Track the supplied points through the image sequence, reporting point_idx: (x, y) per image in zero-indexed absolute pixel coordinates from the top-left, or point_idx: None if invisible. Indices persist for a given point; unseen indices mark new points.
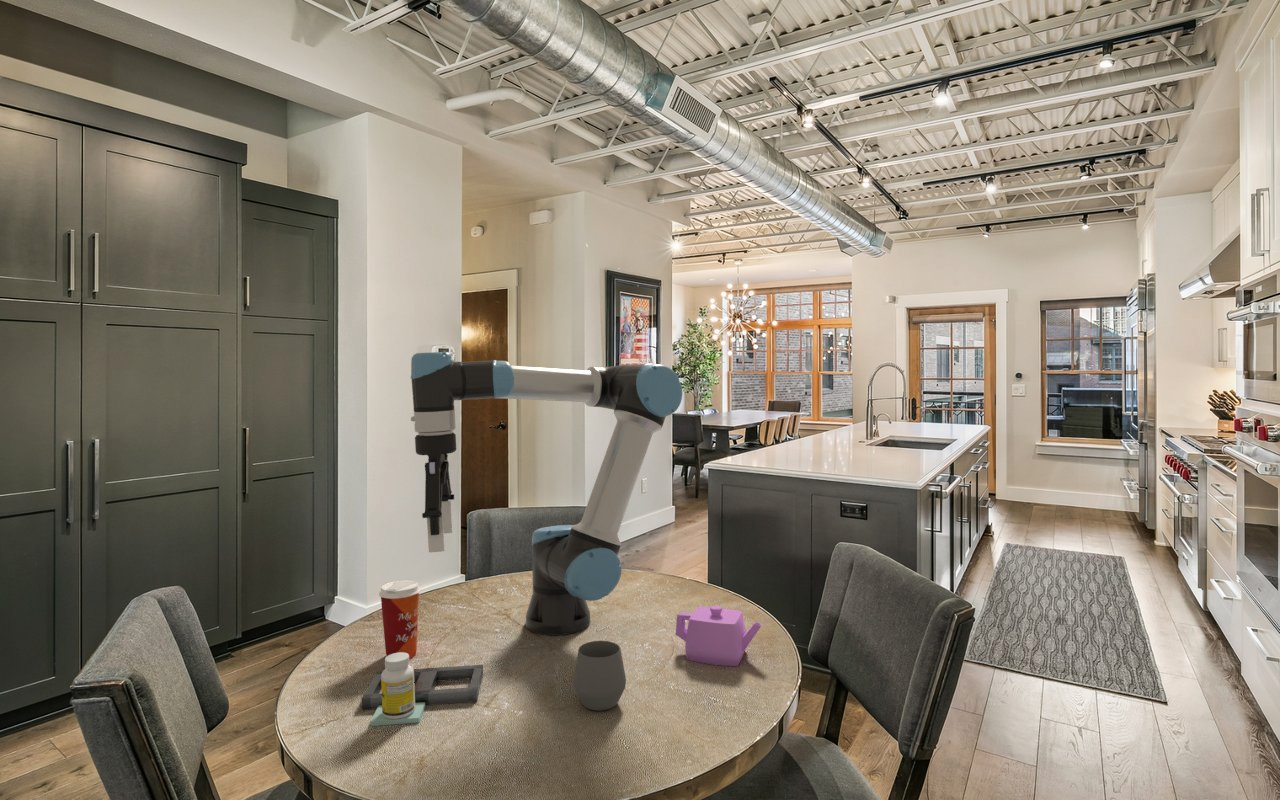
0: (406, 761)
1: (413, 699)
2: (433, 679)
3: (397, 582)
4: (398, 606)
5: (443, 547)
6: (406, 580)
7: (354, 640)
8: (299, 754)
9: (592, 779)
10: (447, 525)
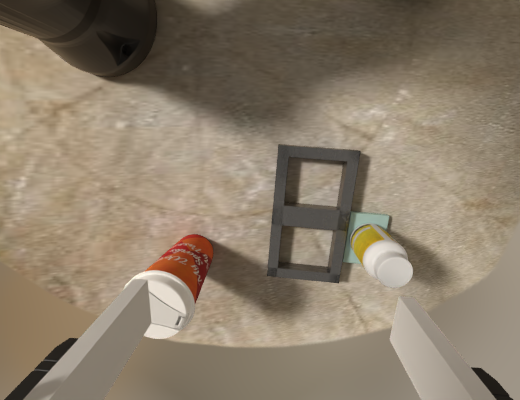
0: (467, 219)
1: (380, 228)
2: (309, 208)
3: None
4: (196, 293)
5: (422, 307)
6: None
7: None
8: None
9: None
10: (132, 313)
